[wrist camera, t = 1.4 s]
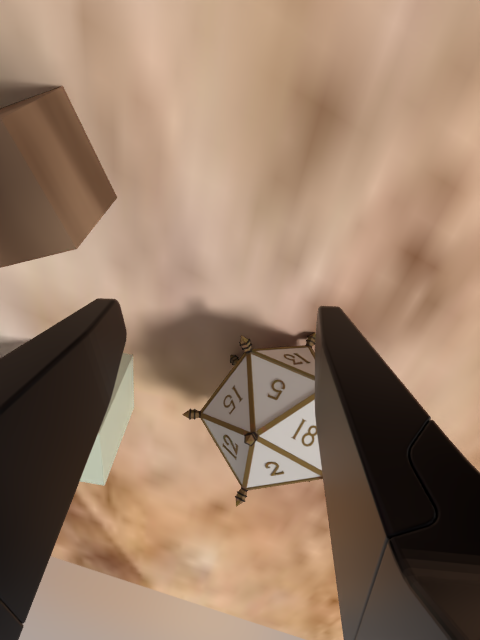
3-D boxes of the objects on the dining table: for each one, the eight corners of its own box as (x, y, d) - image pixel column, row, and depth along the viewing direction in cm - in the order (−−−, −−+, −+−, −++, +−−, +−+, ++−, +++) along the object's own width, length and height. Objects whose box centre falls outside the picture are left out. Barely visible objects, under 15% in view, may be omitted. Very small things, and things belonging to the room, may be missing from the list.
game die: (313, 317, 29) (435, 431, 23) (237, 414, 32) (330, 542, 25) (220, 273, 23) (354, 415, 17) (132, 399, 25) (221, 568, 19)
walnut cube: (63, 85, 19) (1, 118, 15) (117, 196, 22) (76, 249, 18) (-32, 120, 20) (-112, 158, 16) (31, 220, 23) (-25, 273, 19)
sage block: (133, 354, 28) (99, 433, 23) (134, 406, 31) (104, 485, 27) (53, 340, 28) (3, 416, 23) (62, 394, 31) (20, 470, 27)
